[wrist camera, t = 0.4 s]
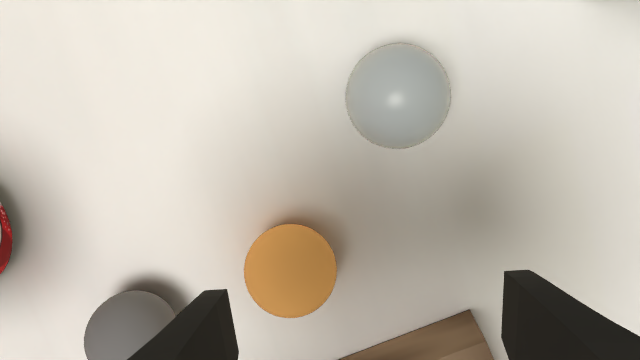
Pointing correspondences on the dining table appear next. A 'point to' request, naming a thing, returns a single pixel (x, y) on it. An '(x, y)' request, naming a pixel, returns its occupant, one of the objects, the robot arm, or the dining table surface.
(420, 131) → the slate ball
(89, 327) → the charcoal ball
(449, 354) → the brown square frame
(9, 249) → the soda can
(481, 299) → the dining table surface
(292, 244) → the ball
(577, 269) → the dining table surface
